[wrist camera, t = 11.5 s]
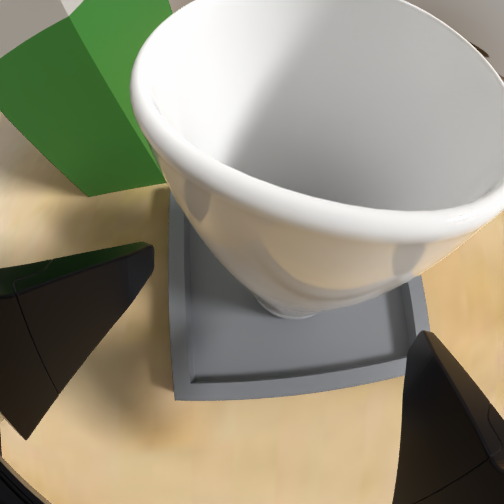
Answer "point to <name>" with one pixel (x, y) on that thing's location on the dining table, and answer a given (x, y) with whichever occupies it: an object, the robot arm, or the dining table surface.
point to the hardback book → (79, 86)
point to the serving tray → (275, 333)
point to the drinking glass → (322, 142)
